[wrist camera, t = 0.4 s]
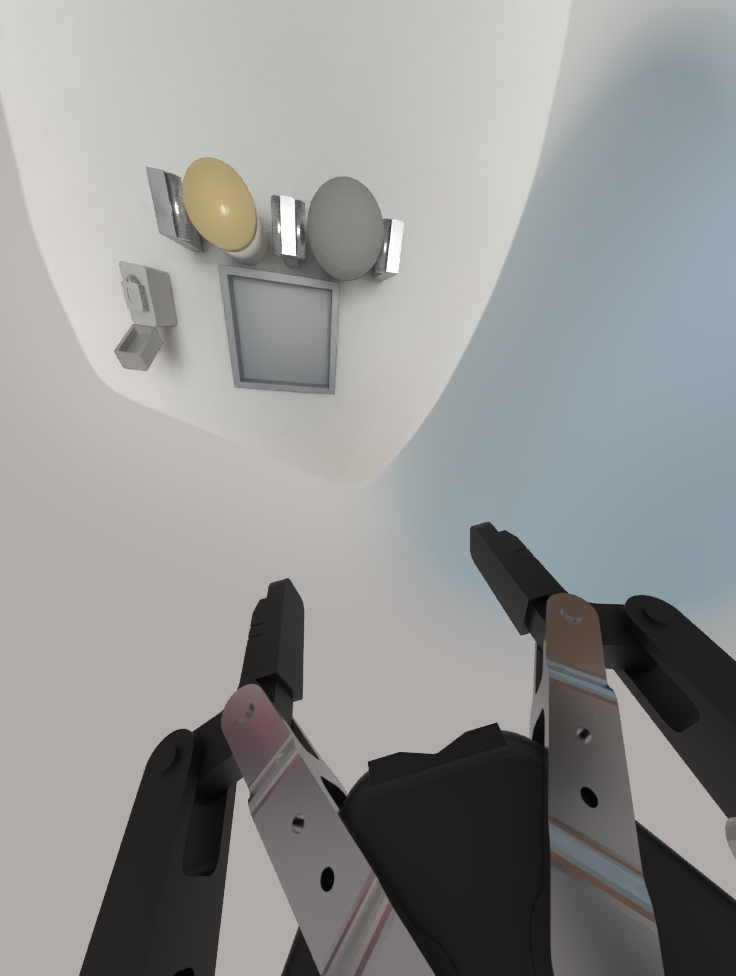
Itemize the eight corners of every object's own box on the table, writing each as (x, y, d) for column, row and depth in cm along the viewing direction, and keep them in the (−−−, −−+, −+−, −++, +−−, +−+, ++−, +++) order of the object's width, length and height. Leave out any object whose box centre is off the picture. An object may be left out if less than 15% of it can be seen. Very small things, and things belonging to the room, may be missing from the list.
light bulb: (340, 301, 28) (353, 295, 20) (295, 252, 25) (288, 221, 17) (377, 252, 27) (408, 224, 18) (333, 194, 24) (346, 130, 16)
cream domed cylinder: (214, 197, 23) (174, 149, 16) (267, 208, 24) (251, 166, 17) (222, 262, 25) (190, 243, 18) (271, 269, 26) (257, 254, 19)
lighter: (146, 268, 24) (84, 251, 18) (168, 273, 25) (116, 257, 18) (163, 356, 28) (117, 369, 21) (183, 358, 28) (143, 372, 22)
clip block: (182, 199, 23) (145, 166, 18) (386, 239, 26) (404, 221, 21) (190, 250, 24) (159, 232, 19) (382, 281, 28) (398, 273, 23)
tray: (225, 267, 25) (218, 263, 23) (337, 285, 27) (339, 282, 25) (239, 382, 30) (234, 387, 28) (332, 389, 32) (334, 394, 30)
